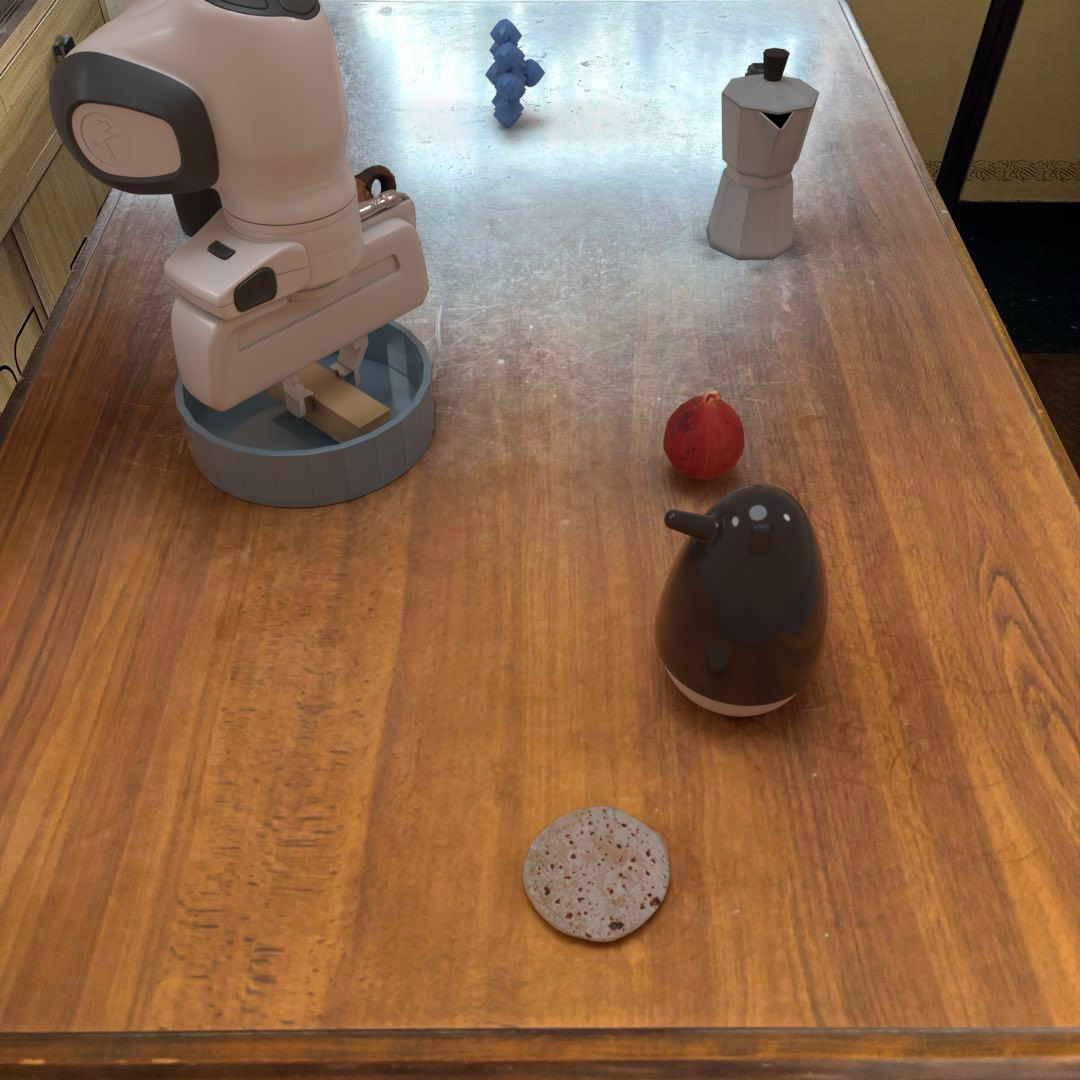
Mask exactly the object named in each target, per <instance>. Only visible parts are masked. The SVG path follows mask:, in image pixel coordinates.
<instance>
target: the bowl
mask: <svg viewBox="0 0 1080 1080" xmlns="http://www.w3.org/2000/svg"><path fill="white" fill-rule="evenodd" d="M367 336H368V346H367V349H366V351H365V354H364V357H363V359H362V362H361V365H360V367H359V374H360V381H361V383H360V384H359V385H358V386H356V388H357V389H359V390H360V391H362V392H364V393H365V394H367V395H368V396H370V397H371V398H373V399H375V400H376V401H378V402H379V403H381V404H382V405H384V406H386V407H387V408H389V409H390V413H391V421H389V422H387V423H386V424H384V425H382V426H381V427H379V428H377V429H376V430H374V431H372V432H371V433H368V434H365V435H363V436H360V437H357V438H354V439H352V440H349V441H346V442H343V443H339V442H338V441H336V440H335V439H333V438H332V437H330V436H329V435H327V434H326V433H324V432H323V431H322V430H320V429H319V428H317V427H316V426H314V425H313V424H311V423H310V422H308V421H307V420H305V419H304V418H302V417H301V418H298V417H297V416H295V415H294V414H292V413H291V412H290V411H289V410H288V408H287V407H286V406H285V405H283V404H282V403H280V402H279V401H277V400H276V399H274V398H273V397H271V396H270V395H269V394H267V393H266V391H265V390H263V391H261V392H260V393H258V394H256V395H254V396H252V397H250V398H248V399H247V400H245V401H243V402H241V403H239V404H237V405H236V406H234V407H232V408H230V409H228V410H226V411H218V410H215V409H213V408H211V407H209V406H207V405H205V404H204V403H202V402H201V401H199V400H198V399H196V398H195V397H194V396H193V395H191V394H190V393H189V392H188V390H187V389H186V388H185V386H184V384H183V382H182V379H181V376H180V372H179V371H178V372H179V373H178V375H177V378H176V381H175V384H174V395H175V396H174V398H175V407H176V410H177V414H178V417H179V421H180V423H181V427H182V431H183V434H184V438H185V442H186V445H187V448H188V452H189V454H190V456H191V458H192V460H193V462H194V464H195V466H196V468H197V470H198V471H199V472H200V473H201V475H202V476H203V477H204V478H205V479H206V480H207V481H208V482H210V484H212V486H214V487H216V488H218V489H219V490H220V491H222V492H223V493H226V494H228V495H230V496H232V497H234V498H237V499H240V500H243V501H245V502H249V503H253V504H258V505H261V506H267V507H268V506H269V507H277V508H293V509H294V508H299V509H300V508H315V507H316V508H317V507H323V506H329V505H334V504H339V503H342V502H343V503H344V502H347V501H351V500H354V499H357V498H360V497H364V496H366V495H368V494H371V493H372V492H375V491H378V490H380V489H382V488H383V487H386V486H387V485H389V484H391V483H393V482H394V481H396V480H398V478H400V477H401V476H403V475H404V474H405V473H407V472H408V471H410V469H411V468H412V467H414V465H416V463H417V462H418V461H419V460H420V458H422V456H423V455H424V453H425V452H426V450H427V449H428V447H429V445H430V443H431V440H432V438H433V435H434V431H435V427H436V426H435V425H436V416H435V415H436V401H435V389H434V378H433V366H432V361H431V358H430V356H429V354H428V351H427V349H426V346H425V344H424V343H423V342H422V341H421V340H420V339H419V338H418V337H417V336H416V335H415V334H414V332H412V330H410V329H409V328H407V327H406V326H404V325H402V324H400V323H399V322H397V321H396V320H393V321H391V322H389V323H387V324H385V325H384V326H382V327H380V328H378V329H376V330H374V331H373V332H371V333H369V334H367ZM339 351H340V349H339V350H337V351H335V352H334V353H332V354H330V355H328V356H326V357H324V358H322V359H321V360H319V361H317V362H316V363H318V364H319V365H321V366H322V367H324V368H326V369H327V370H329V371H330V368H329V366H331V365H332V364H334V363H336V362H337V359H338V355H339Z"/></svg>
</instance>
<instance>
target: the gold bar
mask: <svg viewBox="0 0 1080 1080" xmlns="http://www.w3.org/2000/svg"><path fill="white" fill-rule="evenodd" d="M297 373H298V379H299V380H298V382H296V383H294V384H293V383H292V385H293V386H294V385H296V384H298V383H300V384H301V385H303V386H304V387H305V389H309V390H311V391H312V392H314V397H315V398H314V404H315V407H316V408H315V410H313V411H312V412H310V413H308V414H307V415H305V416H303V417H302V418H304V419H305V420H307V421H308V422H310V423H311V424H313V425H314V426H316V427H317V428H319V429H320V430H322V431H323V432H324V433H326V434H327V435H329V436H330V437H332V438H333V439H335V440H336V441H338V442H339V443H343V442H346V441H349V440H352V439H354V438H357V437H360V436H363V435H365V434H368V433H371V432H372V431H374V430H376V429H377V428H379V427H381V426H382V425H384V424H386V423H387V422H389V421H391V413H390V409H389V408H387V407H386V406H384V405H382V404H381V403H379V402H378V401H376V400H375V399H373V398H371V397H370V396H368V395H367V394H365V393H364V392H362V391H360V390H359V389H357V388H356V387H354V386H352V385H351V384H349V383H348V382H346V381H344V380H343V379H341V378H339V377H338V376H337V375H335V374H333V373H332V372H330V371H329V370H327V369H326V368H324V367H322V366H321V365H319V364H318V363H316V362H315V363H313V364H311V365H310V366H308V367H306V368H304V369H302V370H300V371H298V372H297ZM265 391H266V393H267V394H269V395H270V396H271V397H273V398H274V399H276V400H277V401H279V402H280V403H282V404H283V405H285V406H286V402H285V397H284V393H283V392H282V391H281V390H279V389H278V388H277V387H276V386H275V385H272V386H271V387H269V388H267V389H265ZM286 407H287V406H286Z"/></svg>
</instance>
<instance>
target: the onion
mask: <svg viewBox="0 0 1080 1080" xmlns="http://www.w3.org/2000/svg"><path fill="white" fill-rule="evenodd" d="M662 440H663V451H664V454H665V455H666V456H667V459H668V460H669V462H670V464H671V466H672V468H674V469H675V470H677V471H678V472H679V473H681V474H683V475H684V476H685V477H687V478H692V479H695V480H700V481H704V480H710V479H714V478H718V477H720V476H723V475H725V474H726V473H727V472H729V471H731V470H732V469H733V468H734V467H735V466H736V464H737V463H738V462H739V460H740V459H741V457H742V455H743V452H744V449H745V446H746V445H745V443H746V441H745V440H746V439H745V428H744V425H743V422H742V420H741V418H740V416H739V414H738V413H737V412H736V410H735V409H734V408H733V407H732V406H731V405H730V404H728V403H727V402H726V401H724V400H723V399H722V395H721V392H720V391H719V390H718V389H714V388H710V389H708V391H705V392H704V393H703V394H702V395H697V396H694V397H692V398H690V399H688V400H686V401H685V402H682V403H681V404H680V405H679V406H678V407H677V408H676V409H675V410H674V411H673V412H672V414H671V415H670V416H669V418H668V420H667V421H666V425H665V430H664V434H663V439H662Z"/></svg>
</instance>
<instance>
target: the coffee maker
mask: <svg viewBox="0 0 1080 1080" xmlns="http://www.w3.org/2000/svg"><path fill="white" fill-rule="evenodd" d="M790 55H791V52H789V51H788V50H787V49H785V48H780V47H769V48H765V49H764V51H762V59H763V62H752V63H751V64H749V65H748V66H747V69H746V72H744V75H743V76H739V77H733V78H730V80H729V82H728V83H727V84H726V86H725V87H724V89H722V91H721V95H720V96H721V101H720V102H721V160H722V161H723V162H724V163H725V164H726V167H724V168H723V170H722V174H721V177H720V181H719V184H718V187H717V190H716V194H715V198H714V201H713V203H712V208H711V212H710V215H709V219H708V221H707V226H706V228H705V230H706V236H707V241H708V244H709V247H710V248H712V249H714V250H716V251H718V252H720V253H723V254H725V255H727V256H730V257H732V258H734V259H735V260H773V259H775V258H777V257H778V256H780V255H782V254H783V253H785V252H786V251H788V250H789V249H792V248H793V247H794V231H793V230H794V179H793V175H792V172H793V170H794V167H795V165H796V164H797V163H798V161H799V160H800V157H801V153H802V150H803V146H804V145H805V141H806V137H807V134H808V130H809V127H810V124H811V121H812V117H813V115H814V112H815V108H816V105H817V102H818V98H819V95H820V91H819V90H817V89H815V88H814V87H813V86H811V85H810V84H808V83H807V82H806V81H804V80H802V79H801V78H799V77H791V76H785V75H784V72H785V69H786V66H787V63H788V60H789V57H790Z"/></svg>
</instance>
